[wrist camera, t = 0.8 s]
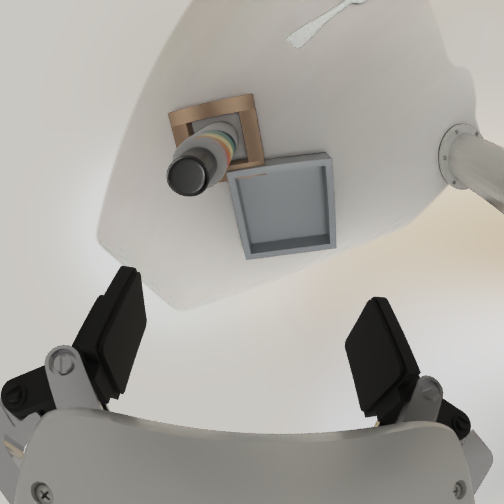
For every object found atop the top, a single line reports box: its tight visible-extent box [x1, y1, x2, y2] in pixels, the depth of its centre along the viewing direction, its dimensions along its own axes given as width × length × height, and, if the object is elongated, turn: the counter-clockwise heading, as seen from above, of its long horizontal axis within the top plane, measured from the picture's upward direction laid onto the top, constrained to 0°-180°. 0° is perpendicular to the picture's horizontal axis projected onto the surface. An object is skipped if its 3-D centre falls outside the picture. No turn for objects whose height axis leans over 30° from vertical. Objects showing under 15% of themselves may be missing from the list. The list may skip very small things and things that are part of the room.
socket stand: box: [168, 94, 267, 182], centre depth 38 cm, size 12×12×3 cm
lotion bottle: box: [167, 121, 239, 196], centre depth 31 cm, size 6×6×20 cm
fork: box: [287, 0, 366, 48], centre depth 26 cm, size 3×21×3 cm, turn 137°
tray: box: [226, 152, 336, 260], centre depth 43 cm, size 15×15×4 cm
